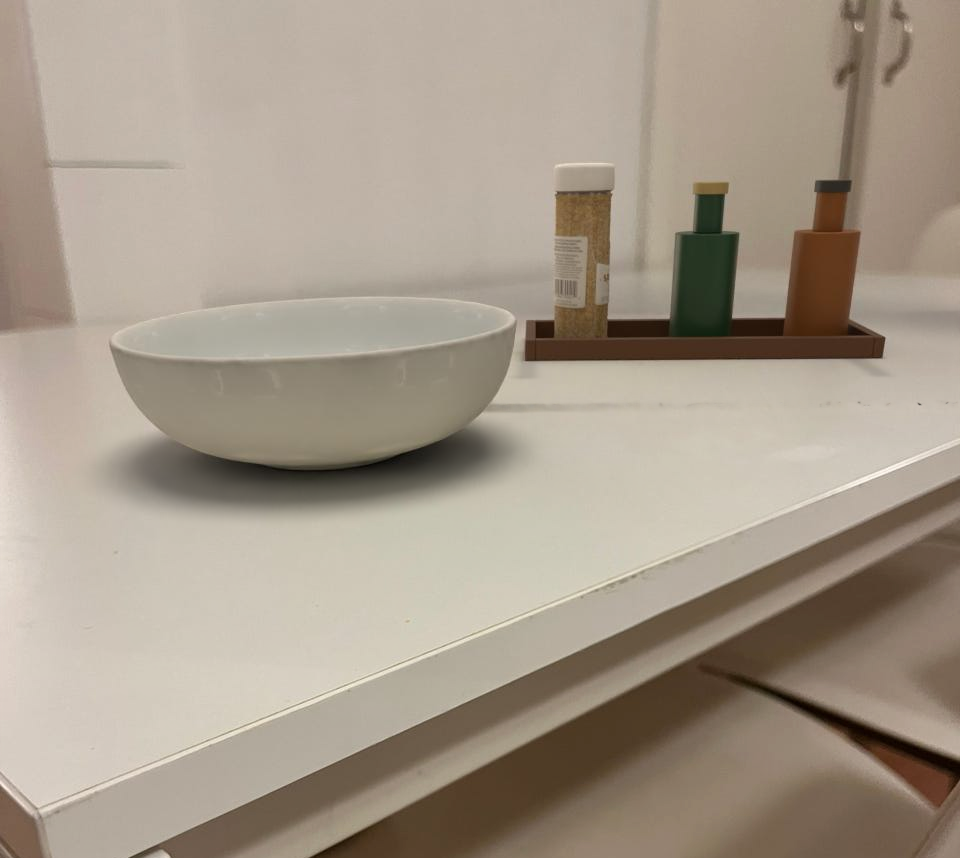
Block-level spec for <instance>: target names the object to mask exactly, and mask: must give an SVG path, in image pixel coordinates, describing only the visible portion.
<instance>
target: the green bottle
mask: <svg viewBox="0 0 960 858" xmlns="http://www.w3.org/2000/svg"><path fill="white" fill-rule="evenodd" d="M729 185H730V182H729V181H695V182H693V184H692V194H693V195H694V207H693V219H692V220H693V223H692V230H686V231H677V232H675V233H674V245H673V247H674V248H673V265H672V279H671V280H672V281H671V293H670V294H671V296H670V311H669V312H670V313H669V319H670V326H669V337H731V326H732V318H733V315H734V313H733V312H734V301H735V293H736V292H735V291H736V278H737V268H738V259H739V258H738V257H739V256H738V255H739V246H740V234H741V233H740V231H733V230H723V227H724V216H725V215H724V214H725V202H726V195H728V194H729V188H730V186H729Z"/></svg>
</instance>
